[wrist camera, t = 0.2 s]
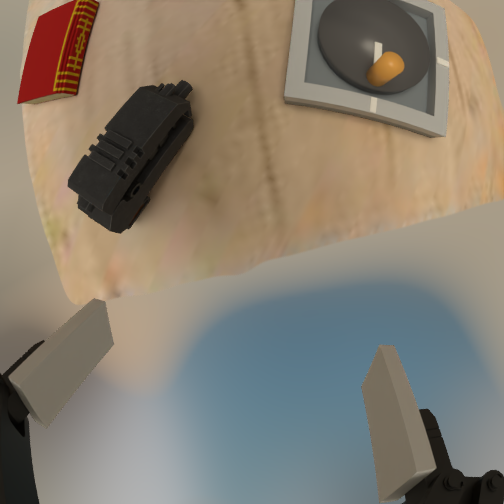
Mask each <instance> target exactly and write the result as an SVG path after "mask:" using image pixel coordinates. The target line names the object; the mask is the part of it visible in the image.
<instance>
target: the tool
mask: <svg viewBox="0 0 504 504" xmlns="http://www.w3.org/2000/svg"><path fill="white" fill-rule="evenodd" d="M164 86H165V85H164V84H163V83H161V84H160V85H159V86H158V87H156V86H154V85H151V86H144V87H140V88H139V89H138V90H137V91H136V92H135V93H134V94H133V95H132V96H131V97H130V98H129V100H128V101H127V102H126V103H125V104H124V105H123V106H122V107H121V109H120V110H119V111H118V112H117V113H116V114H115V116H114V117H113V118H112V119H111V121H110V122H109V123H108V124H107V125H106V127H105V129H106V131H107V132H106V134H105V135H102V134H99V136H98V137H97V139H98V140H99V143H98V144H97V145H96V146H95V145H93V144H92V145H91V146H90V148H89V150H90V151H91V154H90V155H89V156H86V155H84V156H83V157H82V159H81V160H80V162H79V163H78V165H77V166H76V168H75V170H74V171H73V173H72V174H71V176H70V177H69V179H68V187H69V188H70V189H72V190H73V191H74V192H76V193H77V194H79V196H78V202H77V204H78V208H79V209H80V210H81V211H83V212H84V213H86V214H87V215H88V217H90V218H91V219H93V220H94V221H96V222H97V223H99V224H101V225H102V226H104V227H105V228H106V229H108V230H109V231H112V232H116V233H120V234H121V233H122V232H123V231H124V230H126V229H130V228H131V227H132V225H133V224H134V222H135V221H136V219H137V218H138V216H139V215H140V214H141V212H142V211H143V209H144V208H145V206H146V205H147V204H148V202H149V201H150V199H149V197H148V196H147V195H148V194H149V192H150V191H151V189H152V188H153V186H154V185H155V183H156V182H157V180H158V179H159V177H160V176H161V174H162V173H163V171H164V170H165V168H166V167H167V165H168V164H169V163H170V161H171V160H172V158H173V157H174V156H175V154H176V153H177V151H178V150H179V149H180V147H181V146H182V145H183V143H184V142H185V141H186V139H187V138H188V137H189V135H190V134H191V132H192V129H193V120H192V119H190V118H188V117H191V116H192V113H191V107H190V102H189V101H187V100H185V98H186V97H187V96H188V95H189V93H190V92H191V91H192V90H193V89H192V86H191V85H190V84H189V83H188V82H186V81H183V80H181V81H180V82H179V83H178V84H177V85H176V86H175V85H174V84H172V83H171V84H167V85H166V86H165V87H164ZM163 87H164V88H163ZM162 88H163V89H162ZM183 114H184V115H186V116H188V117H186V116H184V115H183Z"/></svg>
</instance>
